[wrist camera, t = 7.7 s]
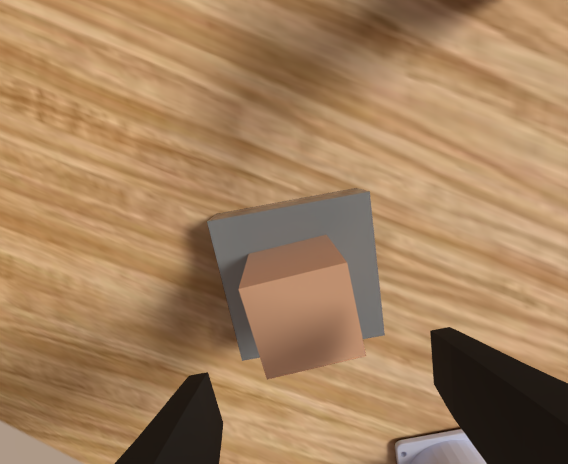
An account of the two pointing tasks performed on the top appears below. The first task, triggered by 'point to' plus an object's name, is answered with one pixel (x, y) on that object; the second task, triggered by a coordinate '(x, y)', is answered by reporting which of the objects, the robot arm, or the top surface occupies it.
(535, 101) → the top surface
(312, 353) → the terracotta block
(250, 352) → the plate
